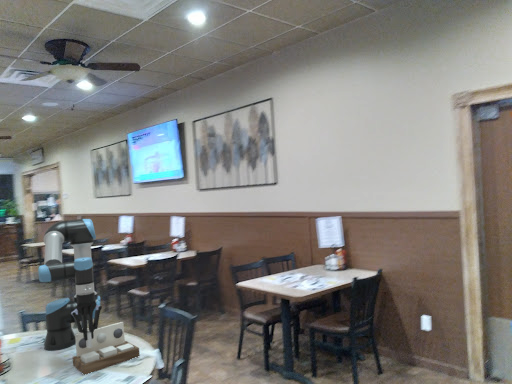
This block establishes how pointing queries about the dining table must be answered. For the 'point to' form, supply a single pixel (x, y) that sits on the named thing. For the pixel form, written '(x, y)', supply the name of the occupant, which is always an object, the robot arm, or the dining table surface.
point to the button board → (105, 360)
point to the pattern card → (101, 338)
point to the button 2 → (125, 347)
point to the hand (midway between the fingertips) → (89, 346)
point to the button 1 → (89, 357)
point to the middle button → (107, 351)
